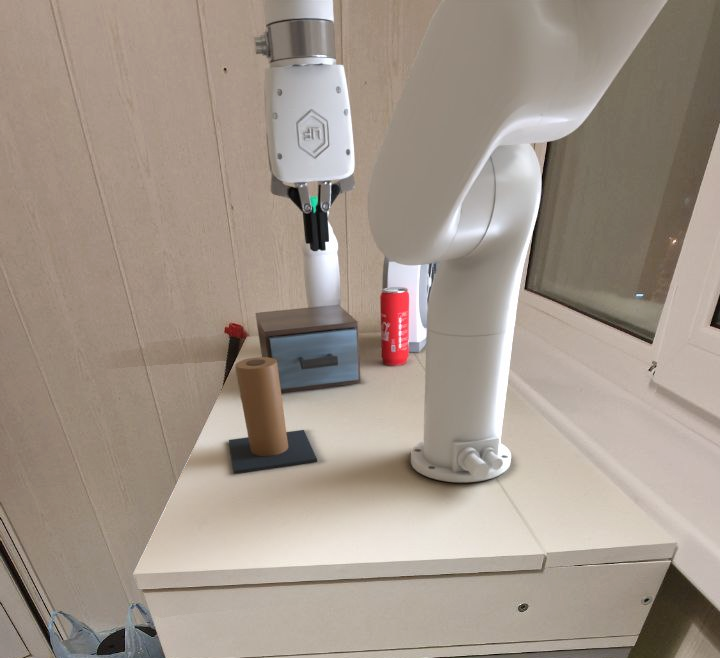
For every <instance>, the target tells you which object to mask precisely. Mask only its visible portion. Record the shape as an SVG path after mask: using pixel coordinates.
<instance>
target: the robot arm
mask: <svg viewBox="0 0 720 658" xmlns="http://www.w3.org/2000/svg"><path fill="white" fill-rule="evenodd" d="M668 1H669V0H441V1H440V2H439V4H438V6H437V7H436V8H435V11H434V13H433V14H432V17H431V19H430V21H429V23H428V26H427V28H426V31H425V33H424V35H423V37H422V40H421V42H420V45H419V47H418V49H417V52H416V55H415V57H414V59H413V62H412V65H411V67H410V70H409V73H408V74H407V78H406V80H405V83H404V85H403V88H402V90H401V93H400V95H399V98H398V100H397V103H396V104H395V105H396V106H395V108H394V111H393V112H392V115H391V118H390V121H389V123H388V126H387V128H386V131H385V133H384V136H383V139H382V141H381V144H380V146H379V149H378V152H377V155H376V157H375V160H374V164H373V167H372V171H371V175H370V180H369V185H368V186H369V187H368V193H367V219H368V225H369V229H370V233H371V236H372V239H373V241H374V243H375V245H376V246H377V248H378V250H379V251H380V252H381V254H382V255H383V256H384V257H385V256H386V257H387V258H389V259H390V260H392V261H394V262H396V263H399V264H403V265H423V264H430V263H435V262H440V263H439V266H438V269H437V271H436V274H435V277H434V280H433V283H432V287H431V290H430V295H429V301H428V309H427V332H426V345H425V364H424V365H425V367H424V369H425V371H424V372H425V374H424V405H423V408H424V409H423V441H421V442H420V443H418V444H417V445H416V446H415V447H413V448H412V450H411V452H410V464H411V466H412V468H413V469H414V470H415V471H416V472H417V473H419V474H420V475H421V476H424V477H427V478H429V479H432V480H437V481H442V482H448V483H477V482H482V481H487V480H490V479H494V478H496V477H498V476H500V475H502V474H503V473H505V472H507V470H508V469H509V468H510V466H511V462H512V461H511V459H512V453H511V451H510V450H509V448H508V447H507V446H506V445H504V444H503V443H501V438H502V430H503V422H504V415H505V414H504V413H505V405H506V398H507V390H508V381H509V372H510V365H511V355H512V348H513V341H514V340H513V339H514V333H515V332H514V331H515V325H516V318H517V317H516V316H517V309H518V301H519V295H520V289H521V282H522V277H523V276H522V275H523V272H524V267H525V266H524V265H525V262H526V258H527V253H528V249H529V247H530V243H531V239H532V236H533V231H534V229H535V225H536V221H537V218H538V215H539V214H538V212H539V208H540V203H541V196H542V184H543V183H542V182H543V181H542V171H541V170H542V169H541V166H540V163H539V162H540V161H539V158H538V156H537V153H536V150H535V149H534V148H533V146H532V145H531V144H540V143H548V142H553V141H554V142H555V141H557V140H561V139H562V138H565V137H567V136H568V135H570V134H572V133H573V132H575V131H576V130H577V129H578V128H579V127H580V126H581V125H582V124H583V123H584V122H585V121H586V120H587V118H589V116H590V115H591V113H592V111H593V110H594V109H595V108H596V107H597V104H598V103H599V102H600V100H601V99H602V97H603V96H604V95H605V93H606V92H607V90H608V88H609V87H610V86H611V84H612V83H613V81H614V80H615V79H616V77H617V75H618V73H620V71H621V69H622V68H623V66H624V65H625V64H626V62H627V60H629V58H630V56H631V55H632V54H633V52H634V51H635V49H636V47H637V46H638V44H639V43H640V42H641V40H642V39H643V37H644V36H645V35H646V33H647V32H648V30H649V29H650V28H651V25H652V24H653V22H654V21H655V20H656V18H657V17H658V15H659V14H660V13H661V11H662V9H663V8H664V6H666V4H667V2H668ZM262 5H263V14H264V23H265V29H264V32H263V34H260V36H254V37H253V44H254V45H253V46H254V52H255V55H261V56H263V57H265V59H267V62H268V64H269V67H267V68H265V69H264V80H263V81H264V85H263V86H264V89H263V93H264V118H265V119H264V120H265V135H266V137H265V138H266V147H267V148H266V149H267V158H268V165H269V171H270V184H269V185H270V186H269V190H270V193H271V194H272V195H275V196H278V197H282V198H286V199H289V200H290V201H291V202H292V203H293V204H294V205H295V206H296V207H297V208H298V209H299V211H300V212H301V213H302V221H303V222H302V223H303V231H304V235H305V242H306V244H310V249H311V250H312V251H318V250H319V249H320V250H321V251H325V250H326V245H325V242H329V229H328V222H329V215H328V214H327V212H328V211H329V212H330V209H331V207H332V205H333V203H334V202H335V201H336V199H337V197H338V196H339V195H342V194H344V193H346V192H349V191H352V190H354V189H355V186H356V181H355V176H354V171H355V145H354V133H353V123H352V113H351V112H352V111H351V104H350V97H349V89H348V83H347V77H346V71H345V67H344V64H337V55H336V35H335V24H334V23H335V15H334V0H262ZM336 180H338V181H336ZM332 181H335V182H333V183H332ZM308 182H309V183H310V182H317V195H316V196H317V205H316V211H315V213H314V209H313V206H312V205H311V201H310V197H311V196H310V191H309V186H308ZM285 183H290V184H291V183H293V185H294V186H291V185H287V184H285Z"/></svg>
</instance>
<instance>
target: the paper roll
mask: <svg viewBox="0 0 720 658" xmlns="http://www.w3.org/2000/svg"><path fill="white" fill-rule="evenodd" d="M234 366H235V367H234V368H235V372H236V377H237V378H236V379H237V383H238V388H239V394H240V400H241V404H242V410H243V415H244V422H245V427H246V432H247V433H246V434H247V437H248V438H249V444H250V449H251V452H252V453H253V454H255V455H258V456H274V455H278V454H281V453H283V452H285V451H286V450H287V449H288V440H287V433H286V432H287V426H286V419H285V418H286V417H285V411H284V404H283V396H282V393H281V389H280V381H279V374H278V366H277V361H276V360H275V359H273V358H268V357H262V356H259V357H257V356H255V357H249V358H244V359H241V360H239V361H237V362H236V363H235V365H234Z"/></svg>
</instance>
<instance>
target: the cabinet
mask: <svg viewBox="0 0 720 658" xmlns="http://www.w3.org/2000/svg"><path fill="white" fill-rule="evenodd" d="M255 319H256V326H257V333H258V341H259V345H260V353H261V357H268V358H272V357H271V350H270V342H269V338H270V337H271V336H280V335H289V334H298V333H307V332H316V331H326V330H335V329H344V328H349V329H353V328H355V329H356V335H357V357H358V378H359V379H358V380H352V381H344V382H336V383H328V384H320V385H312V386H303V387H295V388H287V389H281V394H283V393H289V392H297V391H305V390H314V389H322V388H329V387H337V386H346V385H354V384H360V383H361V363H360V362H361V361H360V360H361V359H360V343H359V341H360V339H359V322H358V320H357V319H356V318H354V317H353V316H352V315H351V314H350V313H349V312H348V311H347V310H345V309H344V308H343V307H342V305H341V306H340V305H329V306H319V307H309V308H308V307H302V308H301V307H300V308H291V309H281V310H280V309H279V310H272V311H260V312H255Z"/></svg>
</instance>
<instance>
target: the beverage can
mask: <svg viewBox="0 0 720 658" xmlns="http://www.w3.org/2000/svg"><path fill="white" fill-rule="evenodd" d="M379 300H380V302H379V303H380V307H379V308H380V347H381V359H382V361H383V364H384V365H386V366H391V367H392V366H393V367H394V366H395V367H396V366H402V365H405V364H407V361H408V358H409V356H410V355H409V353H410V352H409V293H408V289H407V288H403V287H392V288H385V289H381V293H380V296H379Z"/></svg>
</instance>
